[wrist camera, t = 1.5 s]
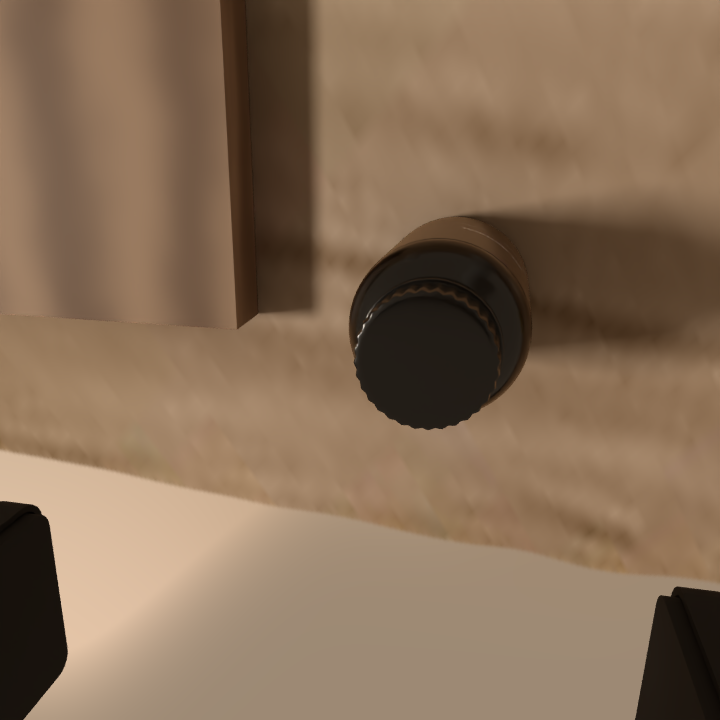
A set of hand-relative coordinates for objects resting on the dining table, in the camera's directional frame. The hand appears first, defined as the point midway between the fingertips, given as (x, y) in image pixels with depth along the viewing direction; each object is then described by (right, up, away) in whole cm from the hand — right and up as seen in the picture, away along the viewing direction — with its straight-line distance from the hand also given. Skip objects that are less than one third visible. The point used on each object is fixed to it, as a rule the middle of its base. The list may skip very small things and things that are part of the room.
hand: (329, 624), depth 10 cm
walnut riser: (-13, +14, +24) cm, 31 cm away
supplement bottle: (+5, +8, +23) cm, 25 cm away
